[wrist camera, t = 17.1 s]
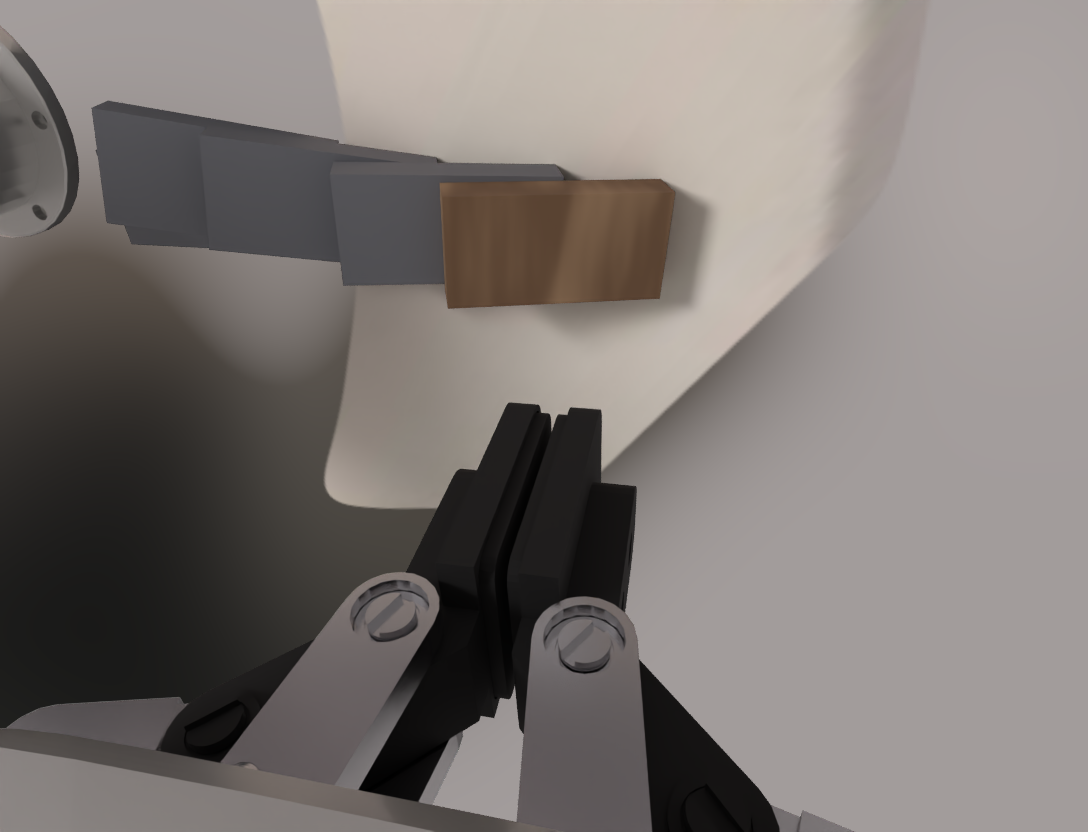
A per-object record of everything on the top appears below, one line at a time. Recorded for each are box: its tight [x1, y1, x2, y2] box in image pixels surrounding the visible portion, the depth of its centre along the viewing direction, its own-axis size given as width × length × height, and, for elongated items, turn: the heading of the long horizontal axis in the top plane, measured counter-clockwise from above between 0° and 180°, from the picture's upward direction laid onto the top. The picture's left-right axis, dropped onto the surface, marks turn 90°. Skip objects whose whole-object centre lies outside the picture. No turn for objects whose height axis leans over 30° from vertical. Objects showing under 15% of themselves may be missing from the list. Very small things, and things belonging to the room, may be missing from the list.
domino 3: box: [199, 126, 437, 262], centre depth 31 cm, size 2×5×10 cm
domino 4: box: [330, 161, 564, 286], centre depth 31 cm, size 2×5×10 cm
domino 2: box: [92, 101, 339, 236], centre depth 32 cm, size 2×5×10 cm
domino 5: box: [440, 179, 675, 309], centre depth 30 cm, size 2×5×10 cm
